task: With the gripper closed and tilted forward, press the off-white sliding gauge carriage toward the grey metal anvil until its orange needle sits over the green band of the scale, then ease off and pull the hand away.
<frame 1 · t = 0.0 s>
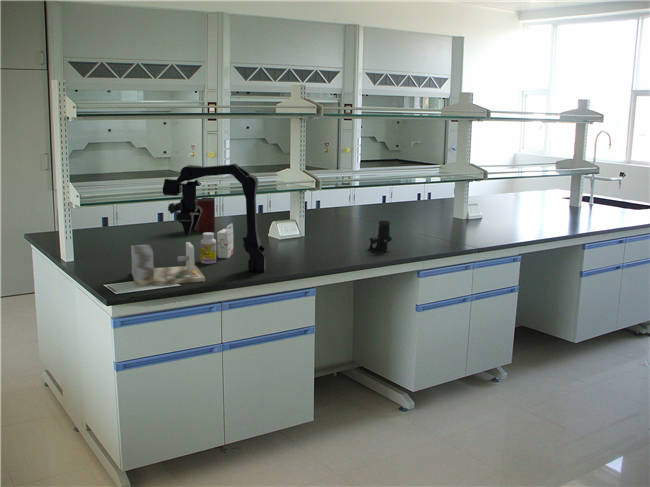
hand: (189, 233, 269), 15 cm above the counter, tool pointing down, fingers open, 9 cm apart
scope: (380, 250, 314), on the counter
gauge frame: (167, 277, 257), on the counter
toy vending machine: (204, 230, 346), on the counter
supplement bottle: (208, 262, 282), on the counter
ink cartridge box: (225, 256, 293), on the counter
gauge carriage: (186, 259, 256), point 7 cm above the counter, slide at 0.0 cm
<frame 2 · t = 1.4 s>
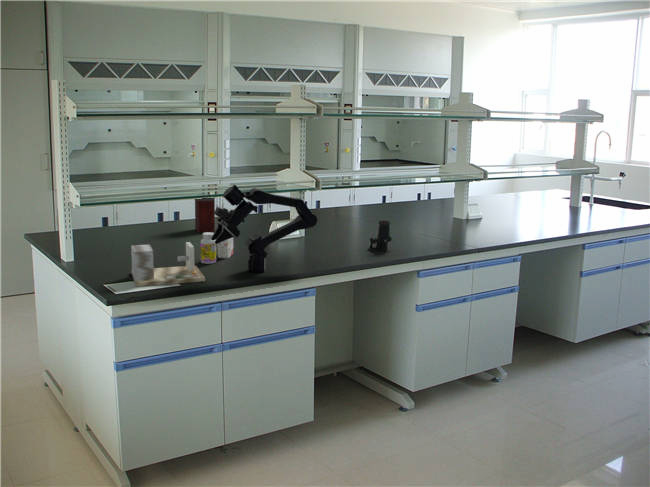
hand: (213, 241, 261), 14 cm above the counter, tool tilted 45°, fingers open, 6 cm apart
nothing on the counter moved.
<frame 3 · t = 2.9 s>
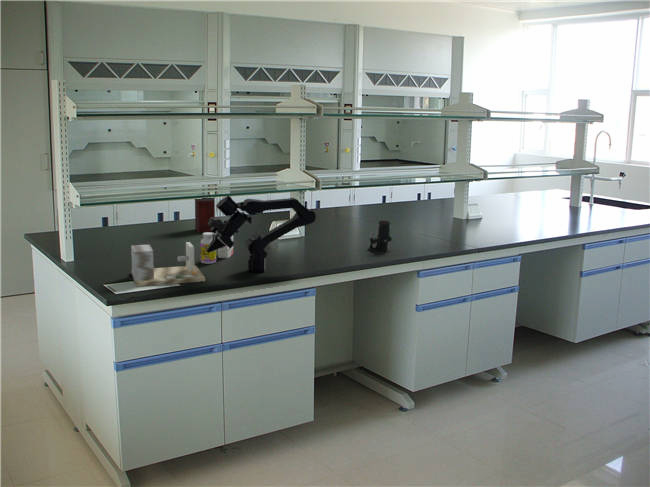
hand: (207, 252, 261), 9 cm above the counter, tool tilted 45°, fingers closed
nothing on the counter moved.
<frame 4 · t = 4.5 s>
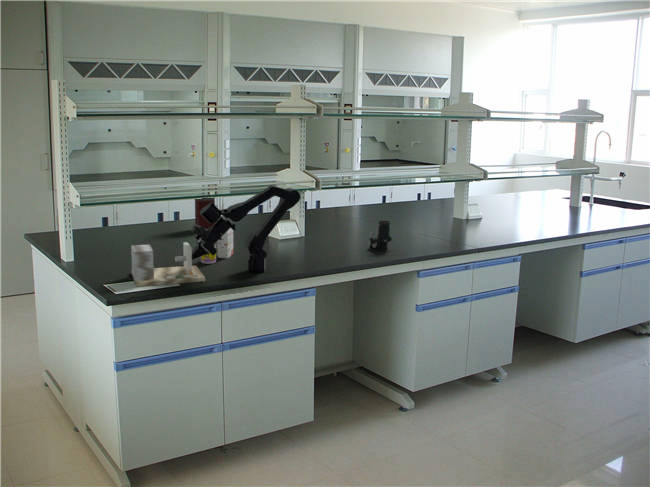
hand: (190, 259, 259), 7 cm above the counter, tool tilted 45°, fingers closed, pressing on gauge carriage
gauge carriage: (183, 259, 256), point 7 cm above the counter, slide at 1.0 cm, touching gripper
everything else where it was.
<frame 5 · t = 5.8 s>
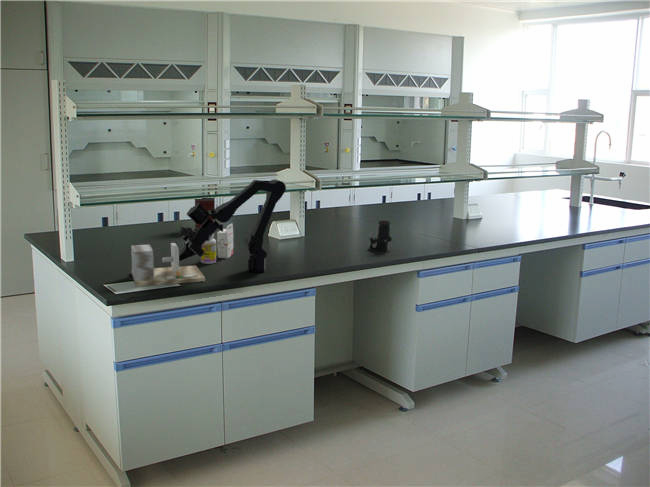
hand: (177, 260, 257), 7 cm above the counter, tool tilted 45°, fingers closed, pressing on gauge carriage
gauge carriage: (170, 260, 254), point 7 cm above the counter, slide at 6.0 cm, touching gripper
everything else where it was.
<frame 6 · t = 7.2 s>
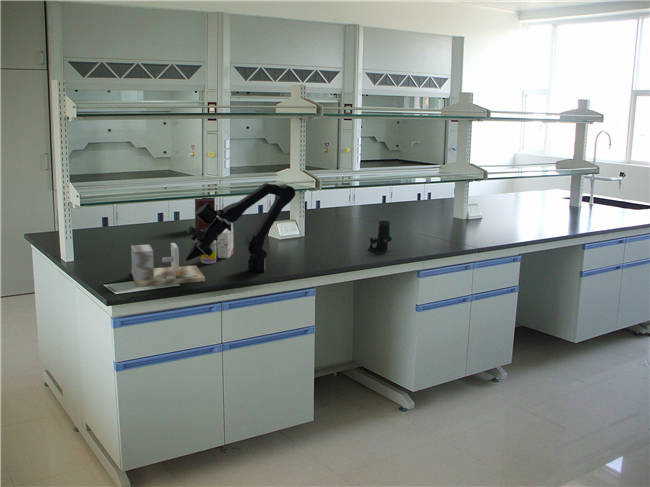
hand: (186, 260, 258), 7 cm above the counter, tool tilted 45°, fingers closed
gauge carriage: (170, 260, 254), point 7 cm above the counter, slide at 6.0 cm
everything else where it was.
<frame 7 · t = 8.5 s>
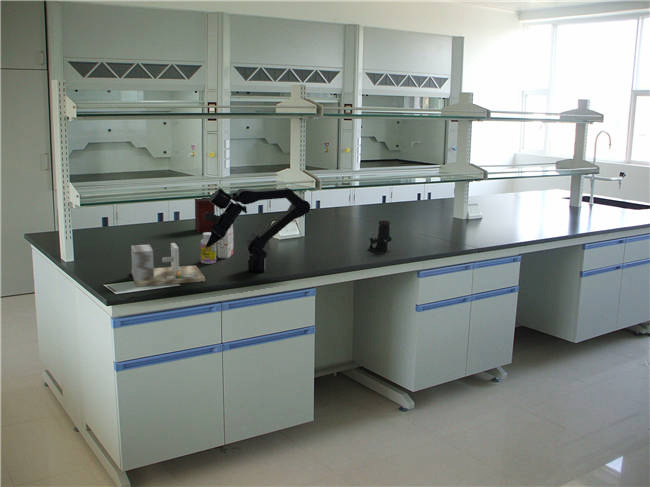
hand: (206, 247, 261), 11 cm above the counter, tool tilted 35°, fingers closed
nothing on the counter moved.
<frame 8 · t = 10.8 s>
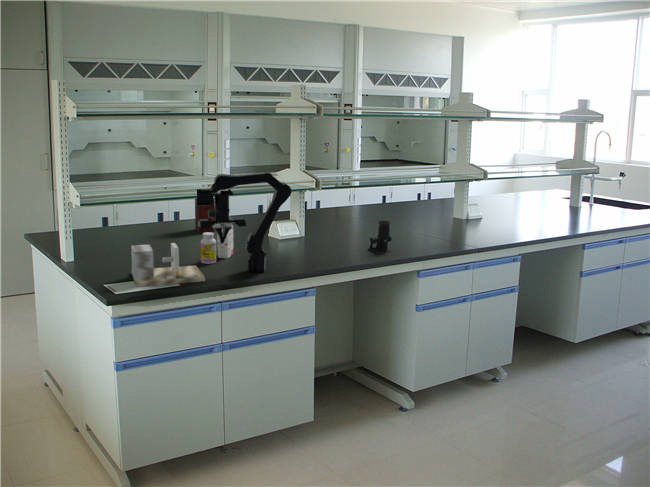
hand: (222, 243, 265), 12 cm above the counter, tool pointing down, fingers closed
nothing on the counter moved.
at the end: gauge carriage slide at 6.0 cm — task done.
